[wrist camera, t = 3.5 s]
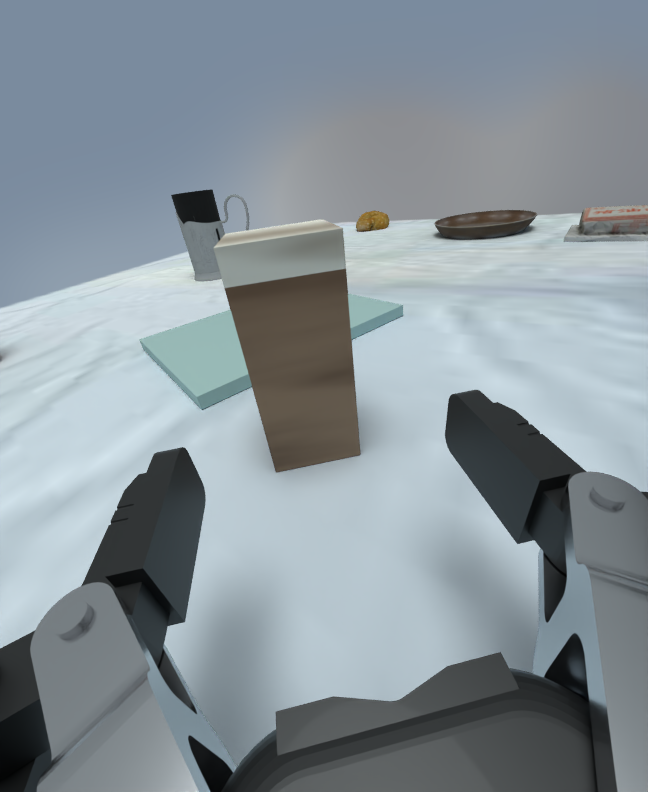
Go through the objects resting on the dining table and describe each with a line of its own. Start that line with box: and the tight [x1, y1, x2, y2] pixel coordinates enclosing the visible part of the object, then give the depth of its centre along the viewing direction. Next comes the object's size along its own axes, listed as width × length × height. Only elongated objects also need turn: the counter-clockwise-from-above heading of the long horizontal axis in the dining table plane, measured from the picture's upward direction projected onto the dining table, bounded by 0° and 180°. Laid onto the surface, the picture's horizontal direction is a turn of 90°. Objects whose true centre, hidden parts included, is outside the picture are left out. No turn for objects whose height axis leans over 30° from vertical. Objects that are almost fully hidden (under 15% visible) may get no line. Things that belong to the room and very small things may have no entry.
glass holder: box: [171, 190, 249, 281], centre depth 64 cm, size 9×14×15 cm, turn 85°
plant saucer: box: [435, 210, 537, 239], centre depth 74 cm, size 21×21×3 cm
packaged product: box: [564, 205, 648, 242], centre depth 55 cm, size 18×5×10 cm
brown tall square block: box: [214, 219, 360, 472], centre depth 18 cm, size 5×5×12 cm
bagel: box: [356, 211, 389, 232], centre depth 100 cm, size 10×11×5 cm
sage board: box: [140, 294, 403, 409], centre depth 37 cm, size 24×18×1 cm
